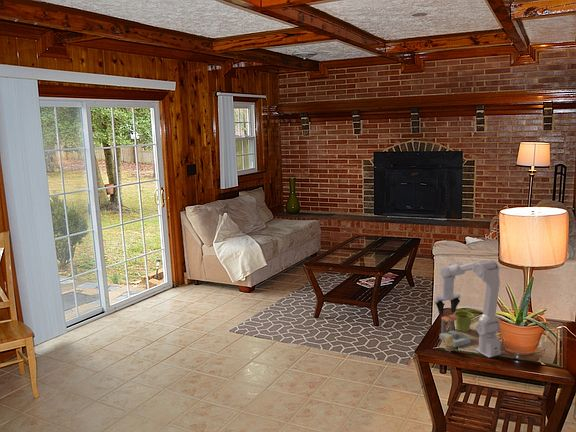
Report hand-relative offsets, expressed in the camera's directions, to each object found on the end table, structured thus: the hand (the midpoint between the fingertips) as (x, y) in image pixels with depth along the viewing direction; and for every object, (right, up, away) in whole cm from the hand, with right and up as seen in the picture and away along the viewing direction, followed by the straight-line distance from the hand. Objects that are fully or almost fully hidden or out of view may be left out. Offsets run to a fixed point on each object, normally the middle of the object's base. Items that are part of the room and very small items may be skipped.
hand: (446, 313), depth 268 cm
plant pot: (+9, -10, +3) cm, 14 cm away
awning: (0, -11, -4) cm, 11 cm away
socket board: (+1, -12, -9) cm, 15 cm away
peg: (-5, -14, -20) cm, 25 cm away
